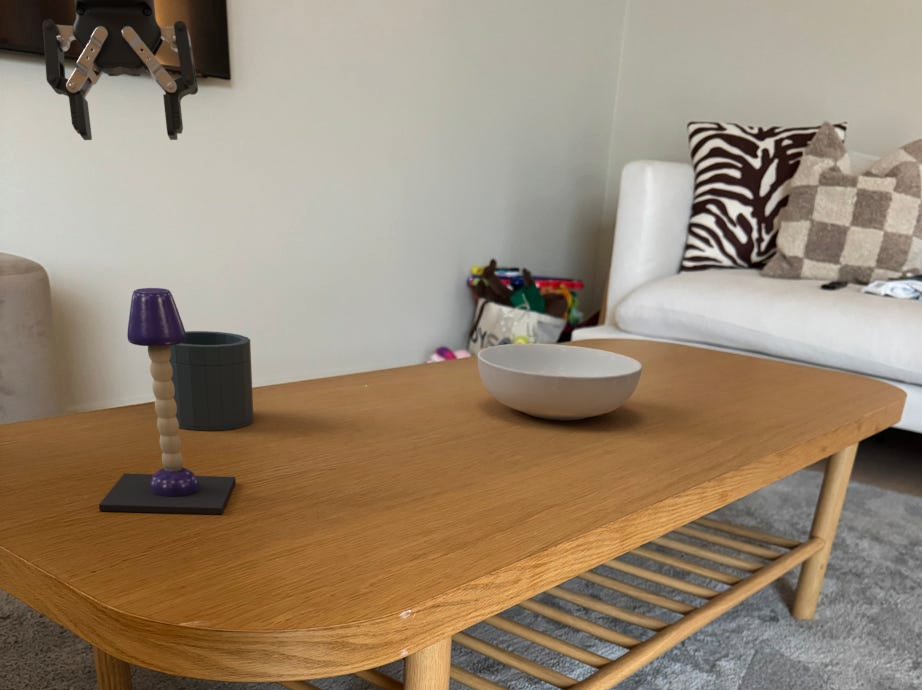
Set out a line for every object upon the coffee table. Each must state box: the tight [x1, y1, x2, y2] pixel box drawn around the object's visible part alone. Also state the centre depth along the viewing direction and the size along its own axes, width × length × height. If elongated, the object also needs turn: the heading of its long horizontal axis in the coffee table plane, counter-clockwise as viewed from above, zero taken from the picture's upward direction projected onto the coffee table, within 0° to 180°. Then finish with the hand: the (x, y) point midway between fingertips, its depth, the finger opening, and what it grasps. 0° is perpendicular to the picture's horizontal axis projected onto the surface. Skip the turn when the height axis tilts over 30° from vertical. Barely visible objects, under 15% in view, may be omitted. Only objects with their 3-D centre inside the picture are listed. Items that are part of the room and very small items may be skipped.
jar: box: [169, 330, 254, 432], centre depth 107 cm, size 10×10×9 cm
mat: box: [98, 472, 237, 515], centre depth 84 cm, size 10×9×1 cm
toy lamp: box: [126, 287, 200, 496], centre depth 81 cm, size 5×5×17 cm
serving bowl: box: [477, 343, 643, 421], centre depth 122 cm, size 21×21×7 cm
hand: (129, 137), depth 98 cm, fingers open, 8 cm apart
